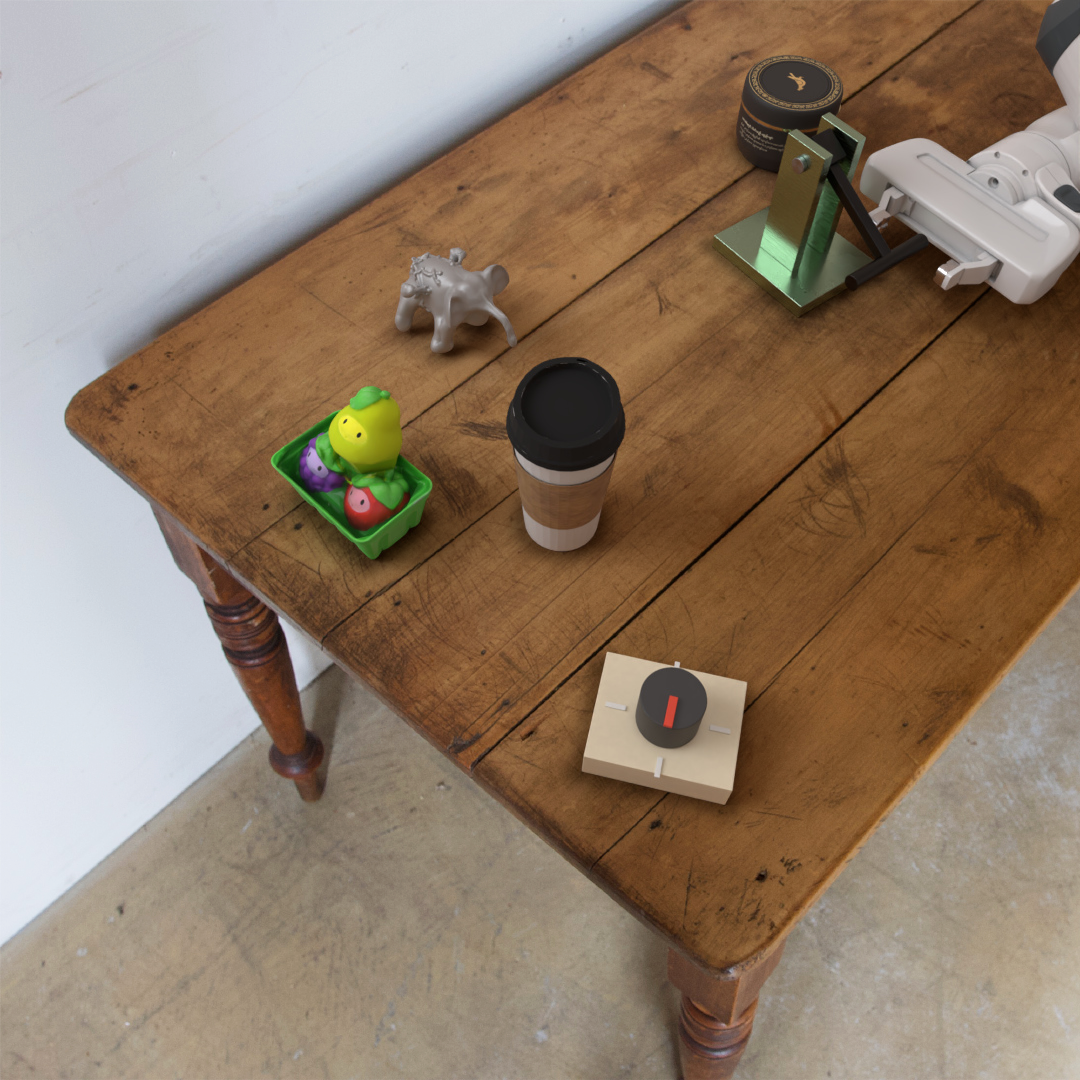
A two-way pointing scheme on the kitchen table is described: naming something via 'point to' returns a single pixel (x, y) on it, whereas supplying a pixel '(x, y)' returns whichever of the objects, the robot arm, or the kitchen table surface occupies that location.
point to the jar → (784, 105)
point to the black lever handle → (864, 221)
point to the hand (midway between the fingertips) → (904, 252)
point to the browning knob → (670, 707)
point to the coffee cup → (564, 448)
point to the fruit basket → (358, 472)
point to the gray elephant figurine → (452, 296)
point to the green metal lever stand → (800, 226)
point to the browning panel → (678, 770)
